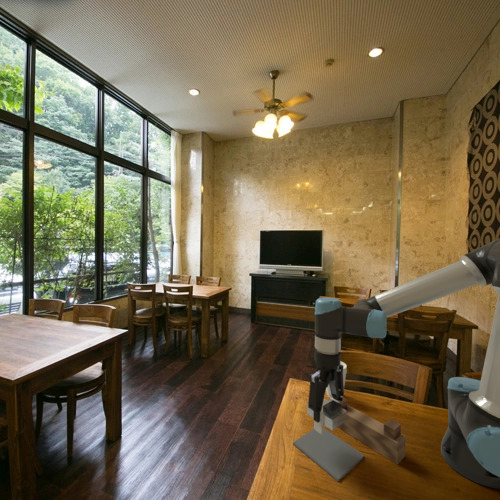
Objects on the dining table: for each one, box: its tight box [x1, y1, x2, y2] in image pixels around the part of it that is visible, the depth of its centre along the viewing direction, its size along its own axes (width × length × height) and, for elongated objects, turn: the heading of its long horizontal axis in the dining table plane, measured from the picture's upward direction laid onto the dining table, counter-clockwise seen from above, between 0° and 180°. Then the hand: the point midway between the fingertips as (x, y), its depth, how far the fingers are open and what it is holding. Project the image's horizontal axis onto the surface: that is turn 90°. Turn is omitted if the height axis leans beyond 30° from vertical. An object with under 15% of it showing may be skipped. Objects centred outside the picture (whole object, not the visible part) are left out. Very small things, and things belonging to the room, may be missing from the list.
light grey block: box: [306, 397, 347, 432], centre depth 76 cm, size 9×7×5 cm
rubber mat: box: [292, 427, 365, 482], centre depth 76 cm, size 16×13×1 cm
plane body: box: [337, 396, 406, 465], centre depth 81 cm, size 22×5×9 cm, turn 37°
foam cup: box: [325, 360, 348, 399], centre depth 105 cm, size 10×9×13 cm
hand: (326, 425), depth 76 cm, fingers closed on light grey block, 7 cm apart
